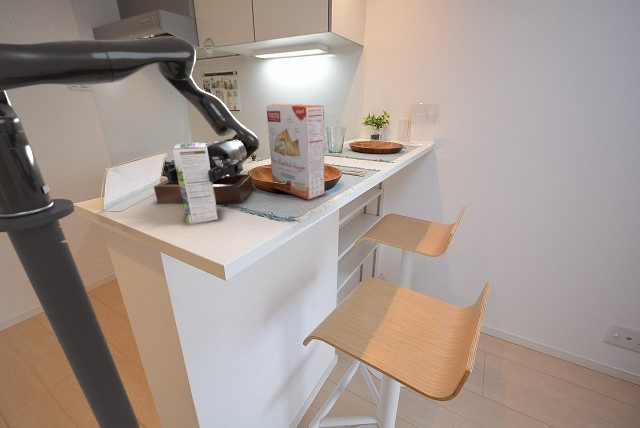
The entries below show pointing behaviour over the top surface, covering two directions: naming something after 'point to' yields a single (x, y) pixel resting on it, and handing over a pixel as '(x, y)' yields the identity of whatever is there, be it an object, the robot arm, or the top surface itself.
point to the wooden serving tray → (223, 187)
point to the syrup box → (195, 182)
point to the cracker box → (297, 148)
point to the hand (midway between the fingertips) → (190, 177)
